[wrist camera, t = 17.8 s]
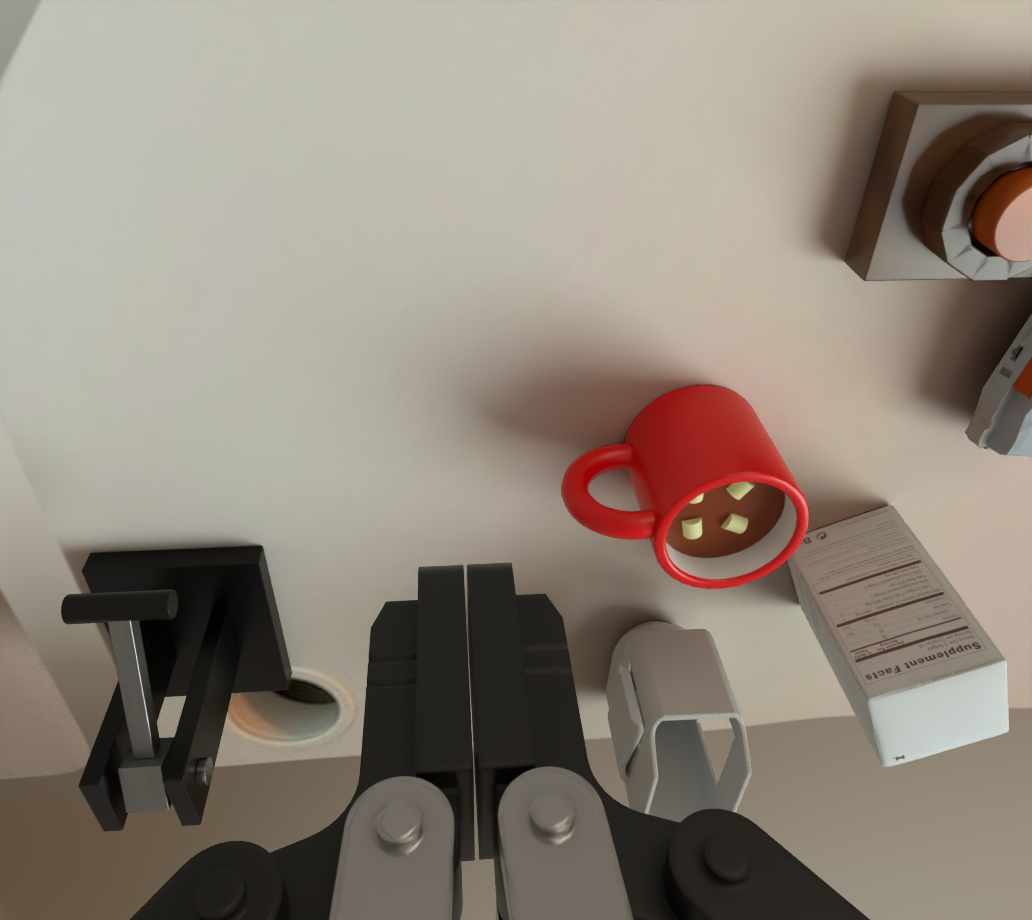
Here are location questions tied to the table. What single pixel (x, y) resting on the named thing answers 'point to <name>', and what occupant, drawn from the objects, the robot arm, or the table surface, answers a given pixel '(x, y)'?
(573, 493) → the mug
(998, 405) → the grey case
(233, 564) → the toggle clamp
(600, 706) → the table surface
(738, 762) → the cable organizer
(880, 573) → the white packaging box
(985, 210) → the button
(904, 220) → the button block
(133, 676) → the lever
